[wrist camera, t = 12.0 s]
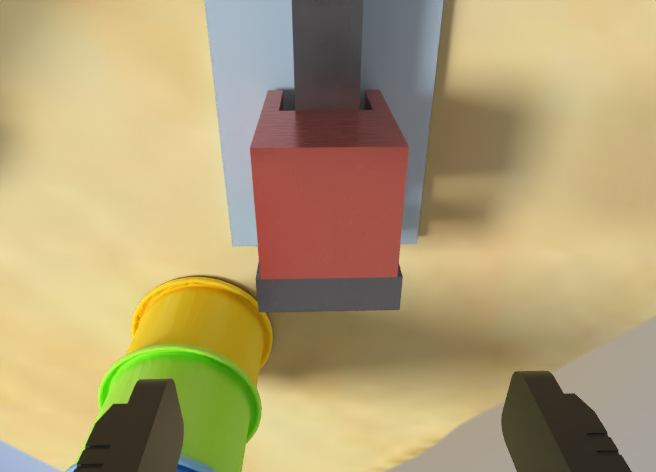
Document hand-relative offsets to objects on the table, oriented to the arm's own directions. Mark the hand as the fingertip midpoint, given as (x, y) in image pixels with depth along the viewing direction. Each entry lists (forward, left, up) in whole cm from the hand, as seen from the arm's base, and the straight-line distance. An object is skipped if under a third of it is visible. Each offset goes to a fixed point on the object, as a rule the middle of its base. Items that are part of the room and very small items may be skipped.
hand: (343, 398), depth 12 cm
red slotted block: (0, 0, -18) cm, 18 cm away
